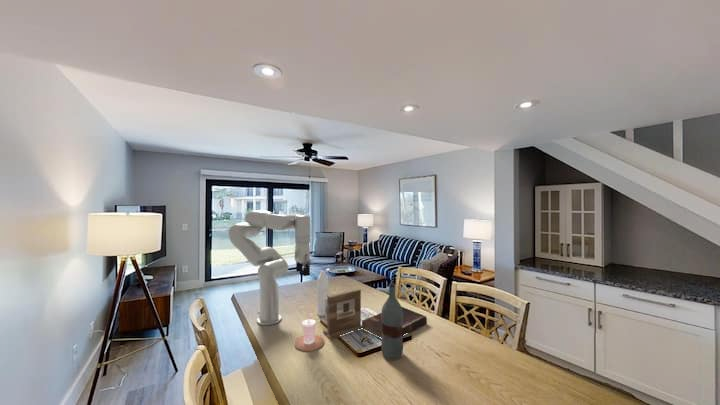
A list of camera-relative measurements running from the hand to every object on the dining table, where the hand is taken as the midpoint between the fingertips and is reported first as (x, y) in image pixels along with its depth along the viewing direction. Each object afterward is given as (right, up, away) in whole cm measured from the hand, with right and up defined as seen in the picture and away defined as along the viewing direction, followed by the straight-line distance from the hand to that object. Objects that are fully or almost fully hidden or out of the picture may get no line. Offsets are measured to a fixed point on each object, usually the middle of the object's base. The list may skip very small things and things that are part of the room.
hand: (302, 273), depth 139 cm
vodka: (+42, -29, -23) cm, 56 cm away
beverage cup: (+6, -28, -14) cm, 32 cm away
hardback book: (+47, -29, +2) cm, 55 cm away
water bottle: (+8, -28, +19) cm, 35 cm away
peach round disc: (+6, -29, -14) cm, 32 cm away
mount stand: (+20, -28, -2) cm, 35 cm away
